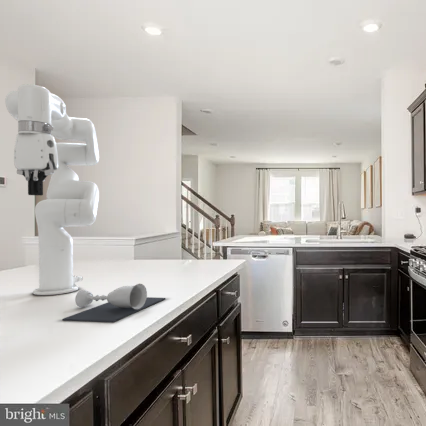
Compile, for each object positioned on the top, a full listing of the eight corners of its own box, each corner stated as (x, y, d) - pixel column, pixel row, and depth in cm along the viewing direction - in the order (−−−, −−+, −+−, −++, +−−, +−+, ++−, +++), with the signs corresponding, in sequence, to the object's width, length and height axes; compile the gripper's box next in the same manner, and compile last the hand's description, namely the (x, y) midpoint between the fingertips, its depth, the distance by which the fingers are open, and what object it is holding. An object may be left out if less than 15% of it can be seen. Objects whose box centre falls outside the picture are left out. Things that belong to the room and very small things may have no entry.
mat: (123, 298, 117) (123, 296, 117) (165, 299, 116) (165, 297, 116) (62, 320, 94) (62, 318, 94) (113, 322, 92) (113, 320, 92)
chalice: (78, 316, 104) (135, 314, 101) (68, 297, 101) (126, 294, 98) (95, 300, 111) (149, 297, 107) (86, 281, 108) (141, 278, 105)
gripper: (69, 132, 108) (70, 195, 108) (23, 133, 110) (24, 195, 110) (47, 126, 101) (48, 194, 101) (-2, 128, 102) (-1, 194, 102)
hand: (35, 195), depth 105 cm, fingers closed
